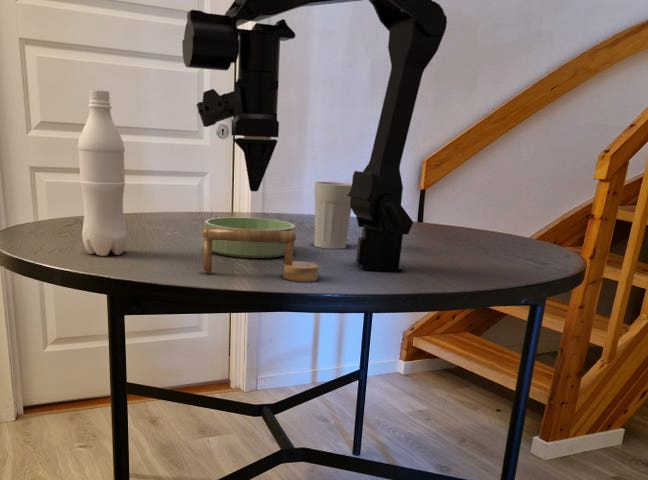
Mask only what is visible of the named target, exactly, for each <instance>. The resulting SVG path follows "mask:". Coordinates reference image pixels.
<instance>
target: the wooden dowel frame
mask: <svg viewBox="0 0 648 480" xmlns="http://www.w3.org/2000/svg"><path fill="white" fill-rule="evenodd" d="M201 235H202V237H203V238H205V239H203V272H204V273H205V274H207V275H209V274H211V273H212V271H213V251H212V240H227V241H247V242H268V243H285V255H284V256H283V259H284V260H283V261H284V262H283V274H282V275H283V276H282V277H283V278H284V279H285V280H288V281H292V282H298V283H299V282H300V283H304V282H305V283H308V282H309V283H311V282H316V281H317V280H318V279H319V267H320V266H319V264H316V263H314V262H308V261H293V257H294V251H293V242H294V243H295V241H296V239H297V236H296V233H295V234H294V233H293V232H292V231H276V230H256V229H236V228H216V227H206V228H205V227H204V228H203V229H202V233H201Z"/></svg>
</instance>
